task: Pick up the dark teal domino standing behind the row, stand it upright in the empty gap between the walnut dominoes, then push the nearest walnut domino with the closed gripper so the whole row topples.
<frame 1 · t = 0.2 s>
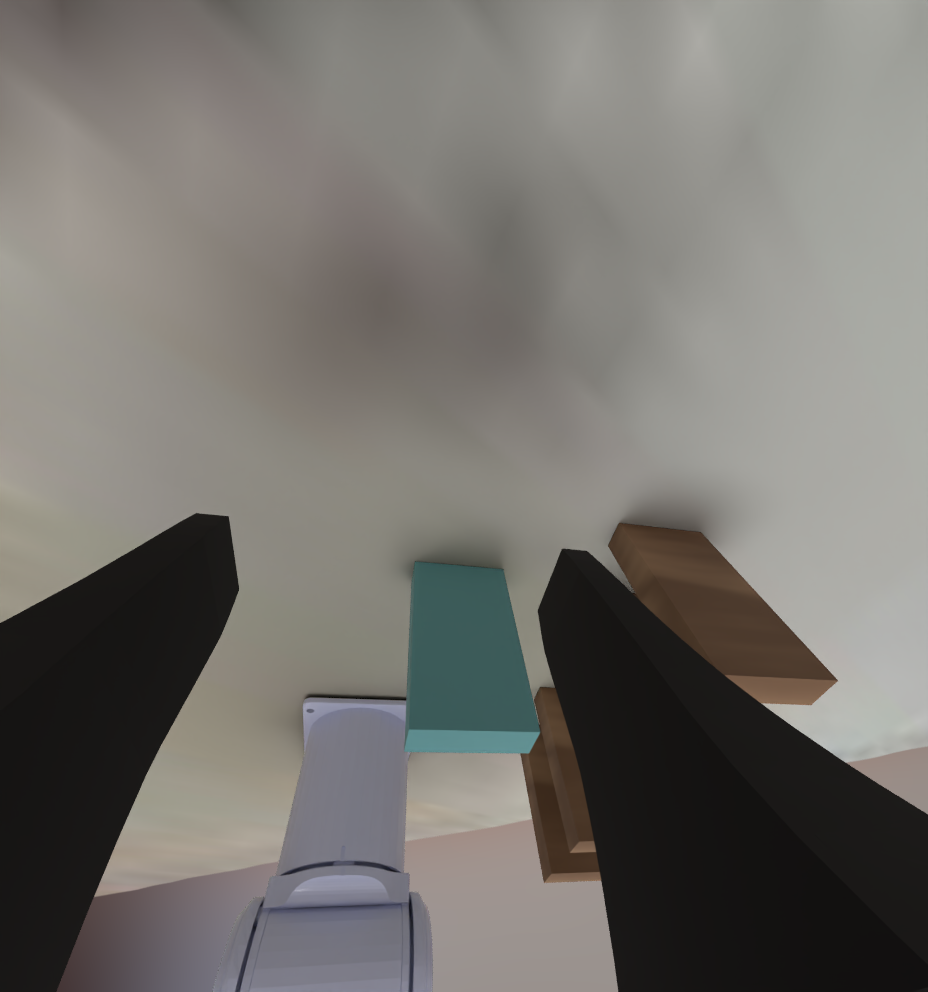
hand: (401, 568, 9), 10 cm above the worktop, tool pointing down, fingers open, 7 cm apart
domino 1: (549, 730, 33), on the worktop
domino 2: (568, 694, 30), on the worktop
domino 5: (654, 539, 23), on the worktop
teal domino: (457, 575, 23), on the worktop
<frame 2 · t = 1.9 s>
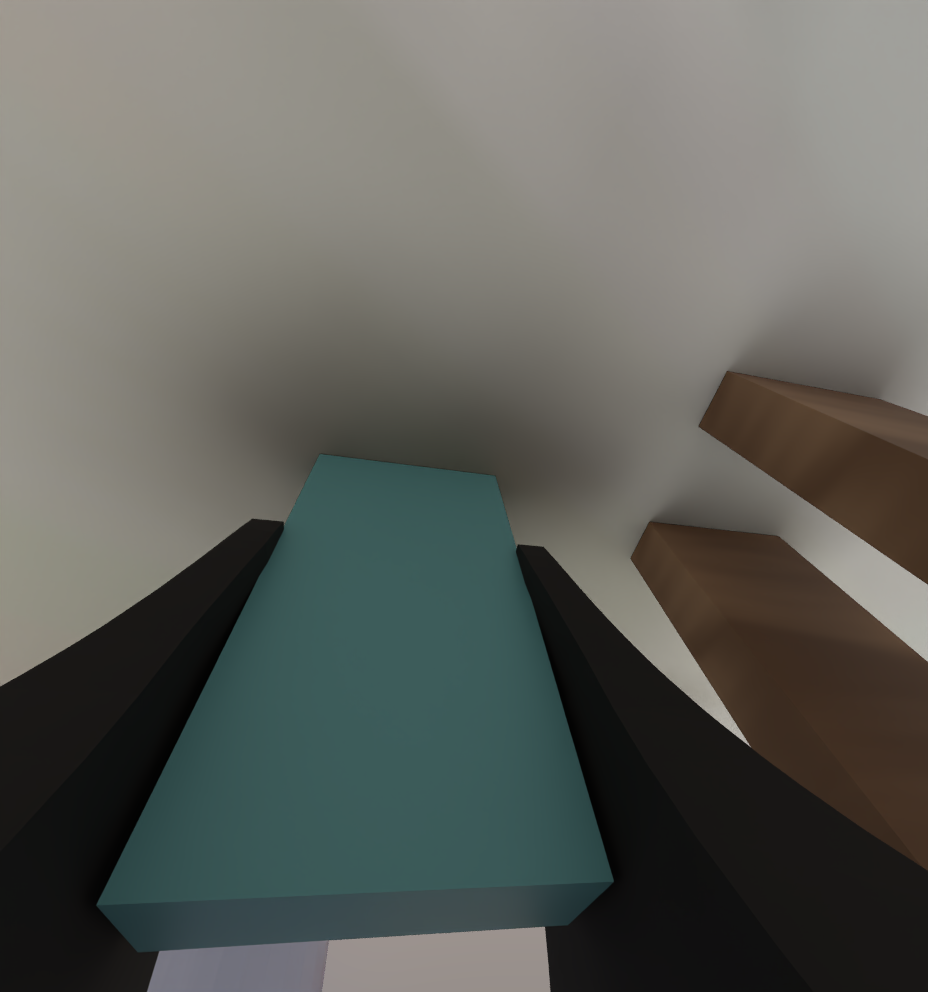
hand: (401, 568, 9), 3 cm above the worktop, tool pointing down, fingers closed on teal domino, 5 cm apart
domino 5: (789, 412, 12), on the worktop
domino 4: (704, 547, 14), on the worktop
teal domino: (407, 488, 12), on the worktop, touching gripper
when the fingers open (4 cm above the worktop, at t = 7.2 s): teal domino stays where it is, on the worktop.
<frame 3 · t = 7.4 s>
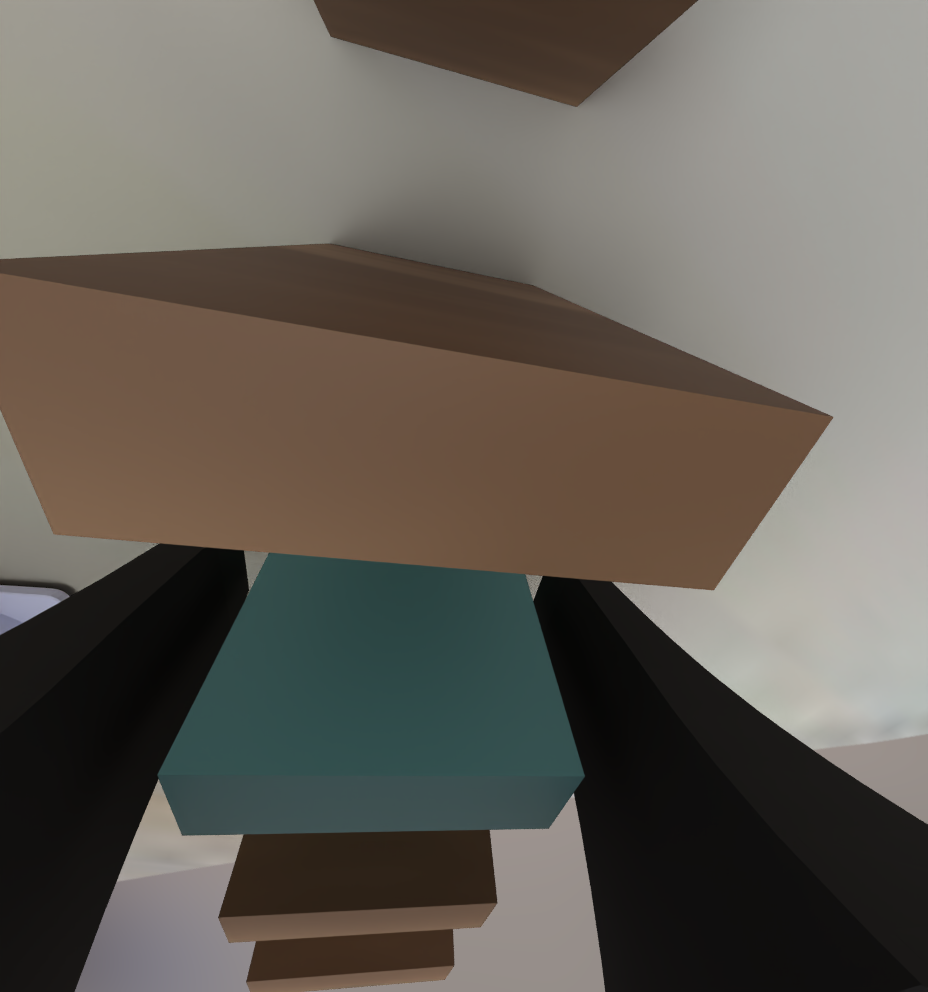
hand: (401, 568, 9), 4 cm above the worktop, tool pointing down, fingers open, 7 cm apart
domino 1: (383, 668, 18), on the worktop
domino 2: (394, 586, 15), on the worktop
domino 5: (467, 15, 8), on the worktop
domino 4: (430, 301, 10), on the worktop
teal domino: (408, 471, 13), on the worktop
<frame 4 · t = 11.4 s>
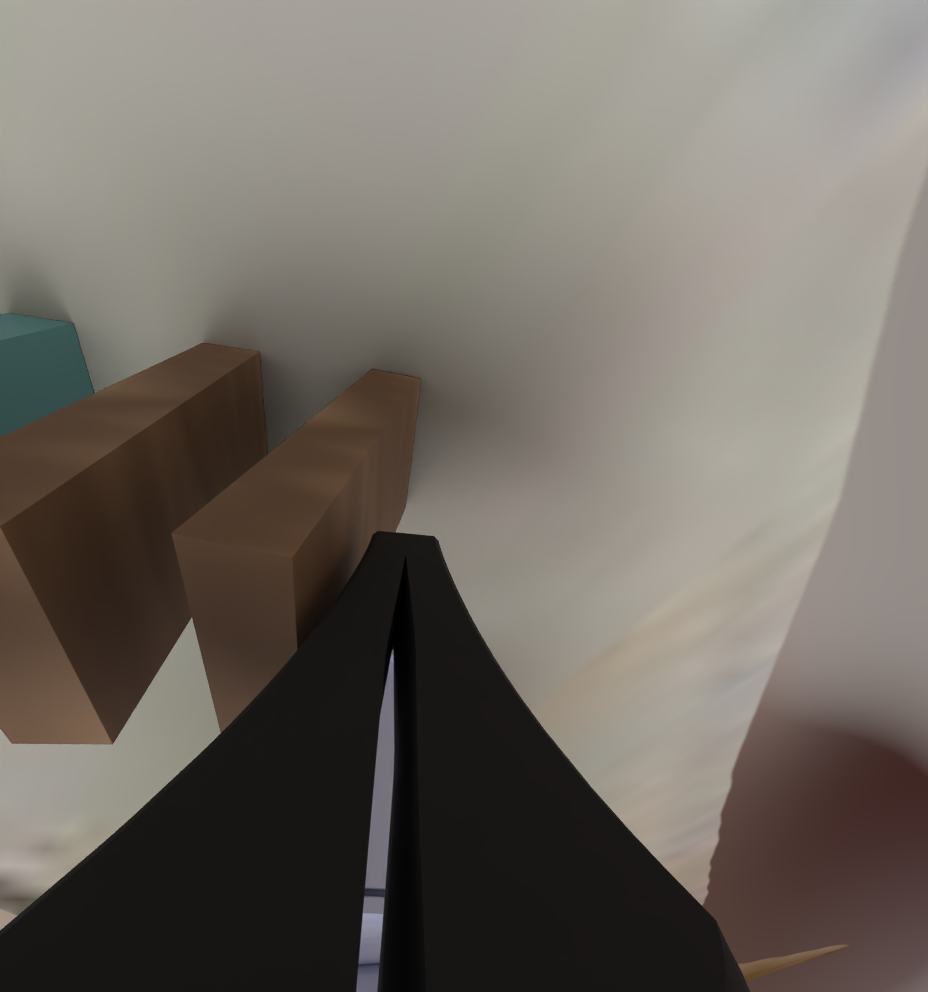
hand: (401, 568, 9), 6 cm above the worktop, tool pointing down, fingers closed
domino 1: (390, 444, 14), on the worktop, tilted 10°
domino 2: (240, 423, 14), on the worktop
teal domino: (69, 402, 13), on the worktop
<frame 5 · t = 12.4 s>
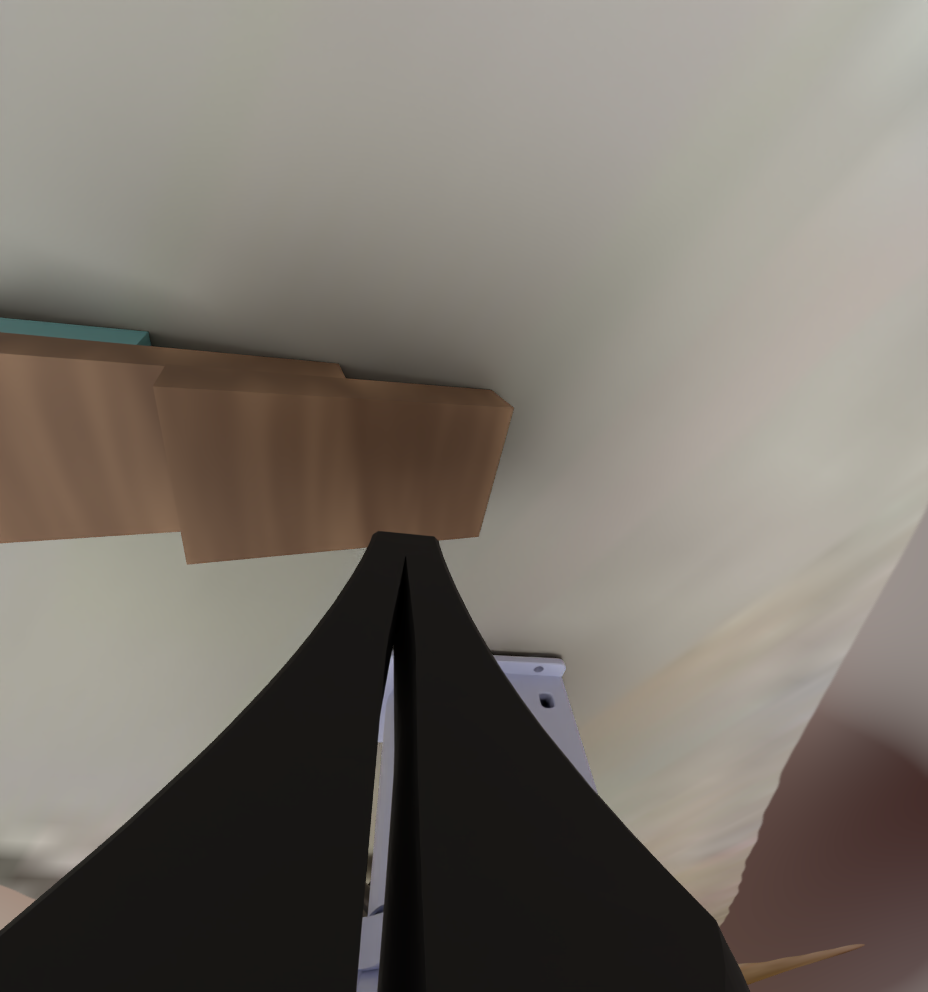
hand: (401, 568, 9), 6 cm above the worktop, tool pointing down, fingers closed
domino 1: (484, 466, 14), point 1 cm above the worktop, tilted 72°, touching domino 2
domino 2: (338, 446, 14), point 1 cm above the worktop, tilted 72°, touching domino 1
teal domino: (159, 422, 13), point 1 cm above the worktop, tilted 72°
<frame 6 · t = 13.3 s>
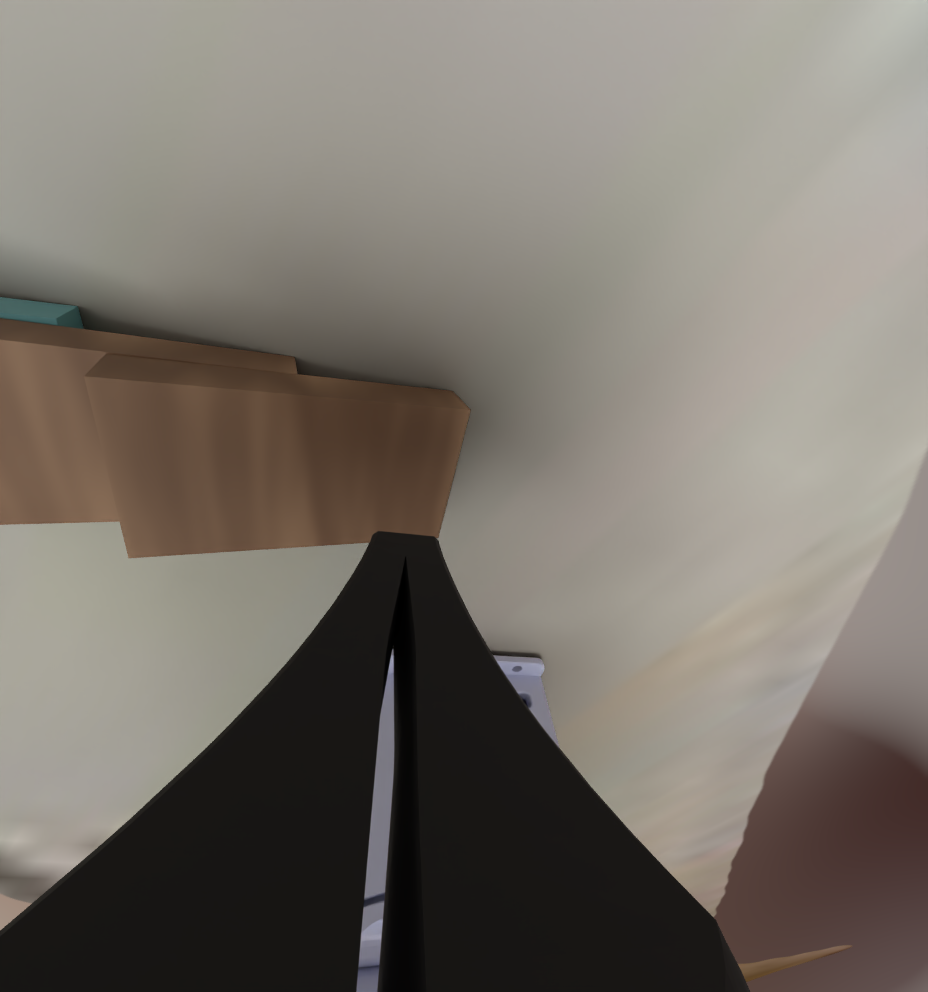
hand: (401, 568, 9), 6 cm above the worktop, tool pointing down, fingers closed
domino 1: (444, 467, 14), point 1 cm above the worktop, tilted 72°, touching domino 2
domino 2: (293, 440, 13), point 1 cm above the worktop, tilted 73°, touching domino 1
teal domino: (92, 401, 12), point 1 cm above the worktop, tilted 72°, touching domino 4
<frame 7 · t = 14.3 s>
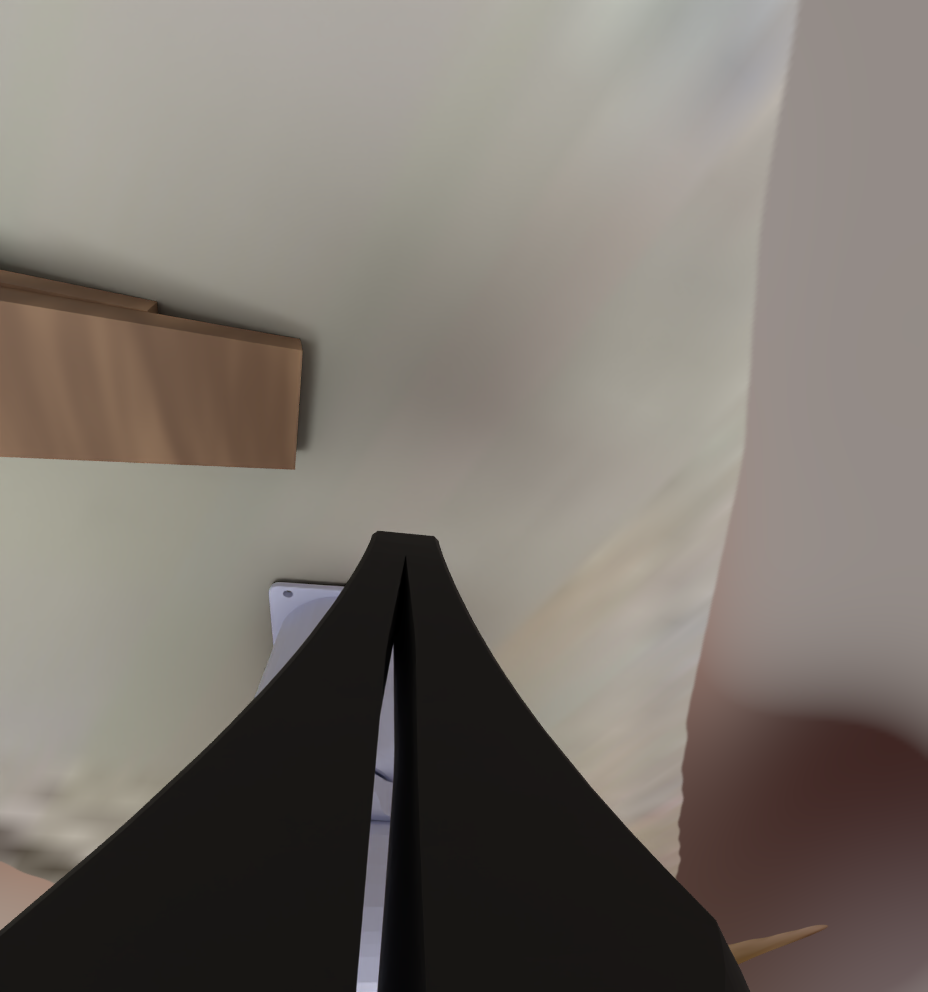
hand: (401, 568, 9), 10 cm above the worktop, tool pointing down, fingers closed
domino 1: (297, 406, 17), point 1 cm above the worktop, tilted 73°, touching domino 2
domino 2: (158, 374, 16), point 1 cm above the worktop, tilted 73°, touching domino 1, teal domino
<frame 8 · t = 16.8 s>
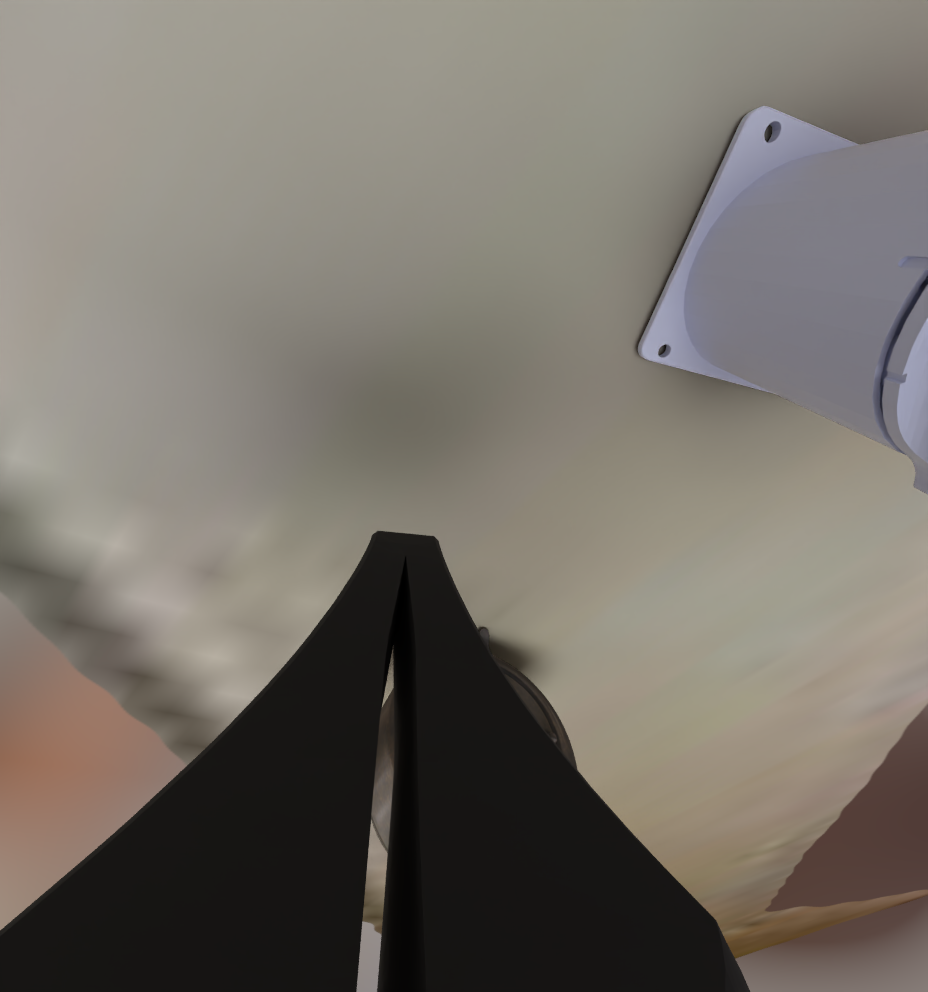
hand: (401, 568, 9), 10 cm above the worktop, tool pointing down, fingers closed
alarm clock: (467, 644, 27), on the worktop
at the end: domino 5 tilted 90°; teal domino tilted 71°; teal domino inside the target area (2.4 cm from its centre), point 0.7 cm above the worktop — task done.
